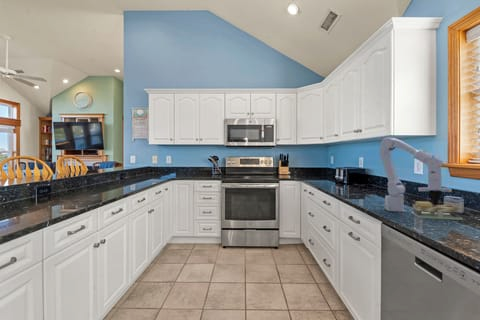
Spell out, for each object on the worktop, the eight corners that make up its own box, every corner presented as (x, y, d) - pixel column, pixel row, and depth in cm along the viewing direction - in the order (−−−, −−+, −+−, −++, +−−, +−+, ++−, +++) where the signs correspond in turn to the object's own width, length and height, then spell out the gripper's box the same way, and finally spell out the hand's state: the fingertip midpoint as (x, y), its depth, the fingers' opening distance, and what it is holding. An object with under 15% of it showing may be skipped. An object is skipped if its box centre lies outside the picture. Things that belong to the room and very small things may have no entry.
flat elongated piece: (418, 211, 134) (418, 207, 134) (412, 207, 142) (412, 204, 142) (461, 212, 129) (461, 208, 128) (452, 208, 137) (452, 205, 137)
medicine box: (443, 210, 148) (443, 196, 147) (447, 210, 150) (447, 195, 149) (460, 213, 141) (460, 198, 140) (463, 212, 143) (464, 197, 142)
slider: (419, 208, 135) (419, 203, 135) (415, 206, 140) (415, 201, 140) (432, 208, 134) (432, 203, 134) (428, 207, 138) (428, 201, 138)
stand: (418, 217, 133) (418, 209, 133) (411, 213, 144) (411, 205, 143) (463, 220, 127) (463, 211, 127) (452, 214, 138) (452, 206, 138)
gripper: (421, 180, 133) (422, 205, 134) (454, 180, 129) (454, 206, 129) (416, 179, 140) (416, 203, 140) (447, 179, 136) (447, 204, 136)
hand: (434, 204), depth 135 cm, fingers closed
